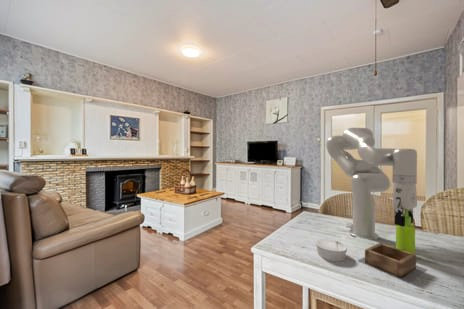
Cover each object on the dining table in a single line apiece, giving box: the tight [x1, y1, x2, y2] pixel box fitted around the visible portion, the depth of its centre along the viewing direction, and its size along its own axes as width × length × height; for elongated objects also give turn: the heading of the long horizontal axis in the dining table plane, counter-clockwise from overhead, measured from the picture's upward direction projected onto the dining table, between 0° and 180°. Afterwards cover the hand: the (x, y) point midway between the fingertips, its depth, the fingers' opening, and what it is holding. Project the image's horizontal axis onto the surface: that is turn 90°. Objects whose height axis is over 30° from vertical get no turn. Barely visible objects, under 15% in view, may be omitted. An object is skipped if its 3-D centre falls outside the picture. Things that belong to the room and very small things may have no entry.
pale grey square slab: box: [357, 256, 428, 284], centre depth 77 cm, size 16×15×1 cm
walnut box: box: [364, 242, 417, 279], centre depth 77 cm, size 11×11×5 cm
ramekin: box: [315, 238, 348, 262], centre depth 85 cm, size 11×11×5 cm
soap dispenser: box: [395, 207, 416, 255], centre depth 85 cm, size 6×7×20 cm
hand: (403, 223), depth 85 cm, fingers open, 6 cm apart
